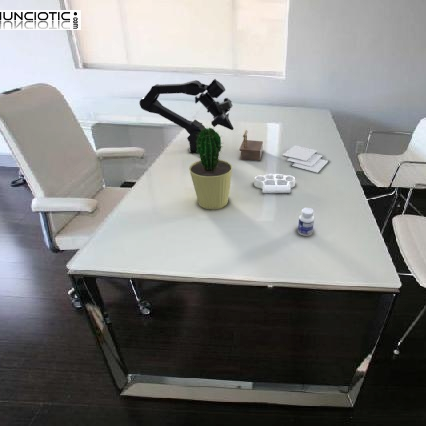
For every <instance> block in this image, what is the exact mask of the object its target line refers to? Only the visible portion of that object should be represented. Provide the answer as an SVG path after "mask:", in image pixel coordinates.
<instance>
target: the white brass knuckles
mask: <svg viewBox="0 0 426 426" xmlns="http://www.w3.org/2000/svg"><path fill="white" fill-rule="evenodd" d="M253 185H254V187H255V188H257V189H261V190H262V193H263V194H290V193H291V191H292V190H291V189H292V188H295V186H296V178H295V176H293V175H285V174H282V173H265V174H262V175H260V174H258V175H256V176H254V178H253Z"/></svg>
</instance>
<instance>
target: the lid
mask: <svg viewBox="0 0 426 426" xmlns="http://www.w3.org/2000/svg"><path fill="white" fill-rule="evenodd" d="M242 138H243V140H242V142H241V145H240V147H239V149H238V151H239V152H241V151H249V152H260V151H261V147H262V144H263V145H264V141H262V140H250V139H248V130H246V129H245V130H244V132H243V135H242Z"/></svg>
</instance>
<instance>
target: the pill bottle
mask: <svg viewBox="0 0 426 426" xmlns="http://www.w3.org/2000/svg"><path fill="white" fill-rule="evenodd" d="M314 223H315V216H314V210H313V208H311V207H303V208H302V209H301V214H299V217H298V225H297V232H298V234H300V235H301V236H303V237H308V236H311V235H312V234H313V231H314Z"/></svg>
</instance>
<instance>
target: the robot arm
mask: <svg viewBox="0 0 426 426" xmlns="http://www.w3.org/2000/svg"><path fill="white" fill-rule="evenodd" d="M225 92H226V88H225V86H224V85H223V84H222V83H221V82H220V81H219V80H217V79H216V78H213V80H212V81H211V82H210V83H209V84H205V83H202V82H201V81H200V80H196V79H195V80H191V81H187V82H184V83H166V84H159V83H157V84H154V85H152V86H151V88H150V89H149V91H148V92H147V94H145V96H144V97H142V98H141V99H139V107H140V109H142V110H143V111H145V112H148V113H151V114H157V115H159V116H161V117H162V118H164V119H166V120H168V121H170V122H171V123H173V124H175V125H177V126H179V127H181V128H183V129H184V131H186V132H187V133H188V136H187V137H186V139H187V142H188V143H189V153H190V154H196V152H197V154H199V153H198V151H197V148H196V147H197V144H196V143H197V140H198V136H199V134H198V133H201V131H202V130H203V129H202V128H204V129H205V128H206V126H205V125H204V124H203V122H200V121H199V120H197V119H194V120H193V121H192V120H190V119H189V120H188V119H187V118H185V117H184V116H182V115H180V114H178V113H176V112H175V111H173V110H171V109H169V108H168V107H166V106H164V105H163V104H162V103H161V102H160V100H158V99H159V97H160V95H168V94H184V95H187V96H192V97H193V96H195V97H194V103H195V104H197V103H200V104H201V105H202V106H203V107H204V108H205V109H206V112H207V113H208V114H210V115H211V116H212V120H211V121H210V122H211V125H212V128H215V127H217V126H219V125H220V126H221V127H223V128H226V129H228V130H231V131H234V126H233V124H232V122H231V120H230V118H229V115H230V111H231V109H232V108H233V103H232V100H231V99H229V97H225V98H223V101H222V102H220V101H216V100H215V99H218V98H219V97H220V96H221V95H222V94H223V93H225ZM204 126H205V127H204ZM196 134H197V135H196ZM195 141H196V142H195Z"/></svg>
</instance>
